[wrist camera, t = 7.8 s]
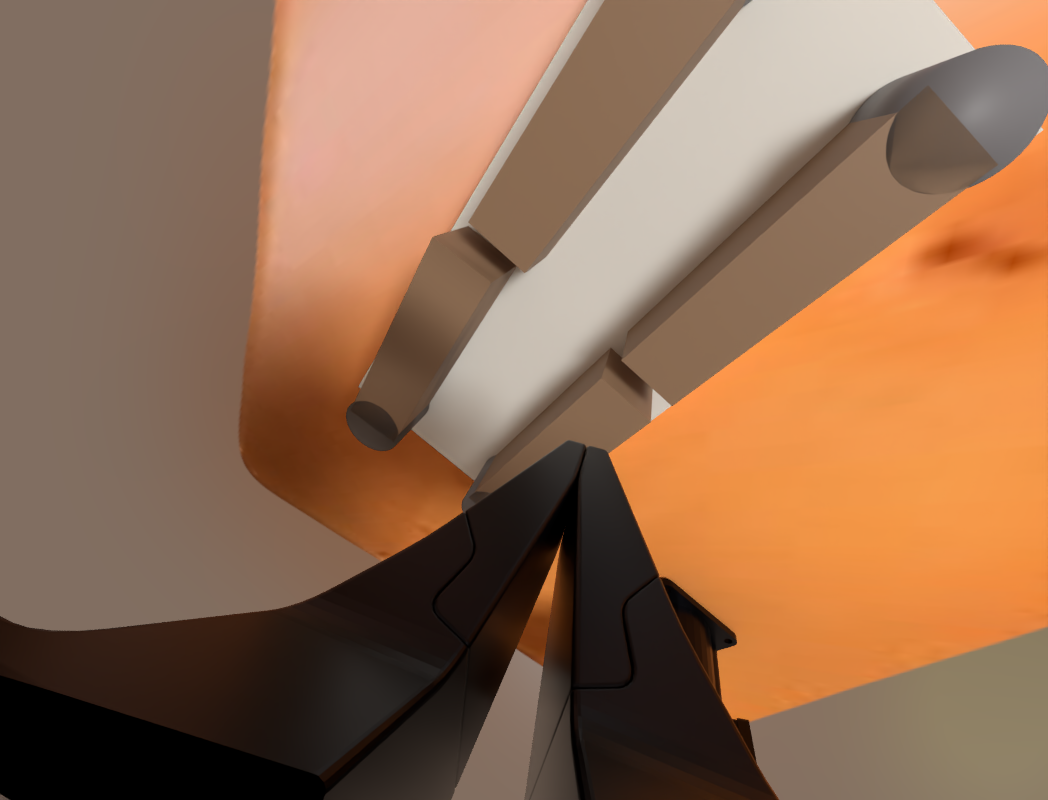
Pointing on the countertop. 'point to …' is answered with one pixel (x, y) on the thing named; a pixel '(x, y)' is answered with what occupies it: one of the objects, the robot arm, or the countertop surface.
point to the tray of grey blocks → (706, 200)
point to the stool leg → (428, 335)
